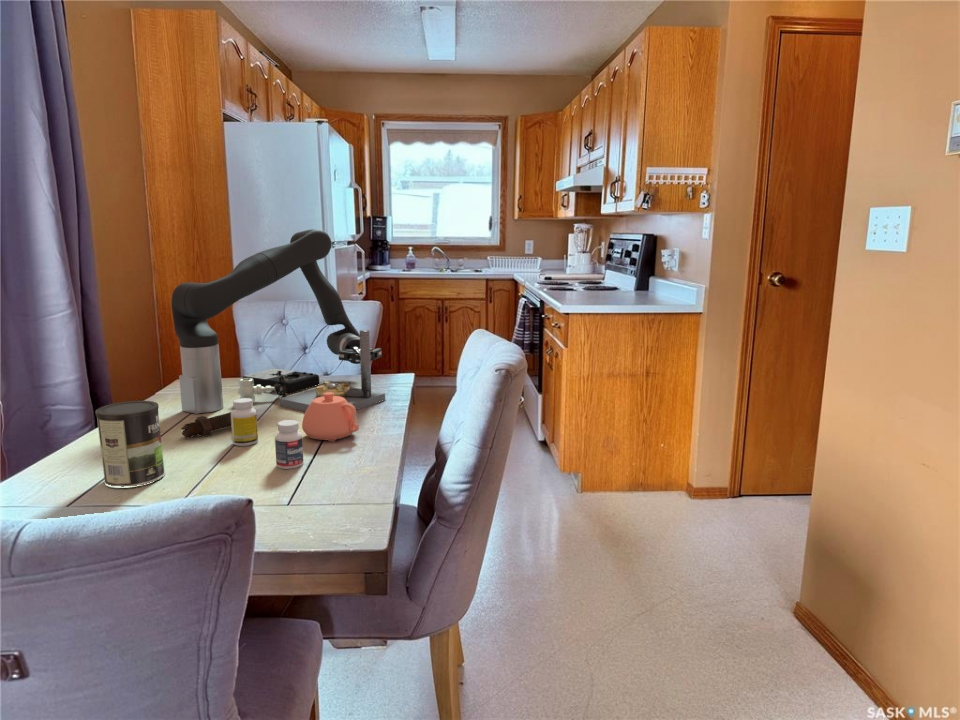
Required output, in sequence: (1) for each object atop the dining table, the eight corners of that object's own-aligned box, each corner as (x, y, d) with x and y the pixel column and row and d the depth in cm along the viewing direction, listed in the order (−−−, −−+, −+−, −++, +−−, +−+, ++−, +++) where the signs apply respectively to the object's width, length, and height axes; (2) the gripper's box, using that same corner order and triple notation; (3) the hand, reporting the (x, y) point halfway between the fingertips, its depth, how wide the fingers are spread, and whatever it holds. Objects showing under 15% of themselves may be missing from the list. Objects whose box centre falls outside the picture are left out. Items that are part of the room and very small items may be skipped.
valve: (241, 406, 171) (286, 401, 177) (239, 382, 170) (285, 378, 175) (238, 400, 177) (282, 396, 182) (236, 377, 176) (281, 373, 181)
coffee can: (169, 466, 127) (162, 398, 124) (159, 486, 117) (152, 412, 115) (111, 471, 124) (103, 402, 121) (97, 492, 114) (87, 416, 112)
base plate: (333, 417, 161) (333, 408, 161) (279, 405, 172) (279, 397, 171) (385, 400, 178) (384, 392, 177) (333, 390, 188) (333, 383, 188)
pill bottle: (288, 471, 125) (286, 428, 123) (270, 466, 127) (268, 423, 126) (309, 463, 129) (307, 421, 127) (291, 458, 132) (289, 417, 130)
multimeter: (289, 395, 184) (288, 378, 183) (242, 387, 193) (240, 371, 192) (320, 386, 196) (319, 370, 195) (274, 379, 204) (273, 364, 203)
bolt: (184, 446, 145) (244, 429, 156) (192, 440, 141) (253, 423, 152) (175, 423, 145) (236, 407, 156) (183, 416, 142) (244, 400, 153)
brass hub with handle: (311, 398, 170) (307, 332, 167) (323, 390, 179) (320, 327, 176) (366, 400, 169) (364, 333, 165) (375, 392, 177) (374, 328, 174)
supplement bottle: (262, 443, 141) (259, 400, 139) (238, 448, 138) (234, 404, 136) (252, 437, 145) (249, 395, 143) (228, 442, 142) (225, 399, 140)
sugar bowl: (326, 425, 155) (324, 384, 153) (374, 433, 149) (372, 391, 147) (291, 439, 144) (288, 396, 142) (340, 449, 138) (339, 403, 136)
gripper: (331, 337, 186) (342, 347, 170) (375, 335, 191) (390, 344, 175) (332, 362, 187) (343, 375, 171) (376, 359, 192) (391, 371, 176)
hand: (367, 359), depth 173 cm, fingers closed
